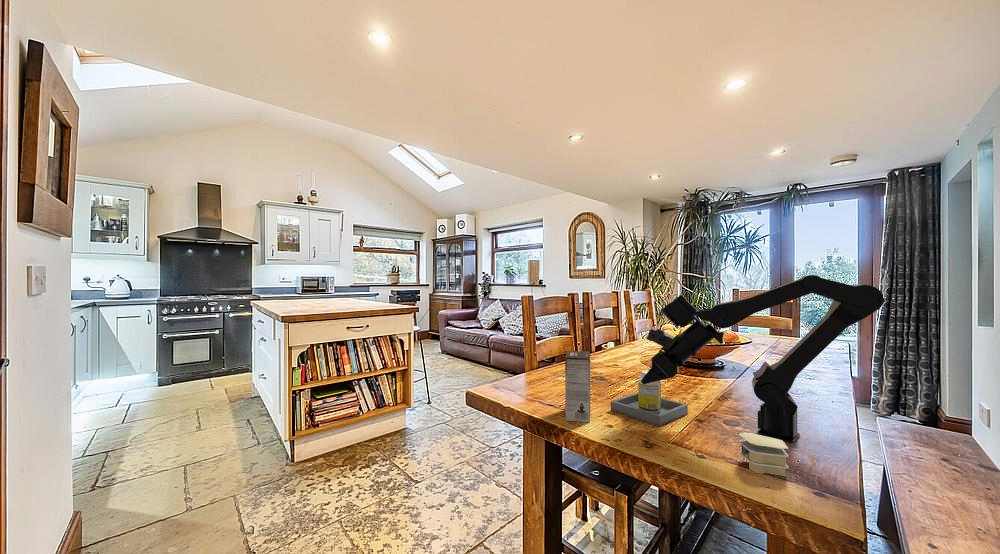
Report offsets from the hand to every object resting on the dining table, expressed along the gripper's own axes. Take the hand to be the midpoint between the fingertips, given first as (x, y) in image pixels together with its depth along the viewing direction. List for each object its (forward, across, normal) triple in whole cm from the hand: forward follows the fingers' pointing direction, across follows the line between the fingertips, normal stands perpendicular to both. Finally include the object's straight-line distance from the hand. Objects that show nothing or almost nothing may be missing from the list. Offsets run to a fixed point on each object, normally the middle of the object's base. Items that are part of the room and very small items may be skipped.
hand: (645, 378), depth 99 cm
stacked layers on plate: (-10, +20, +24) cm, 33 cm away
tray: (+6, 0, +7) cm, 9 cm away
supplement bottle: (+5, 0, +7) cm, 9 cm away
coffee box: (+17, +12, -4) cm, 21 cm away
